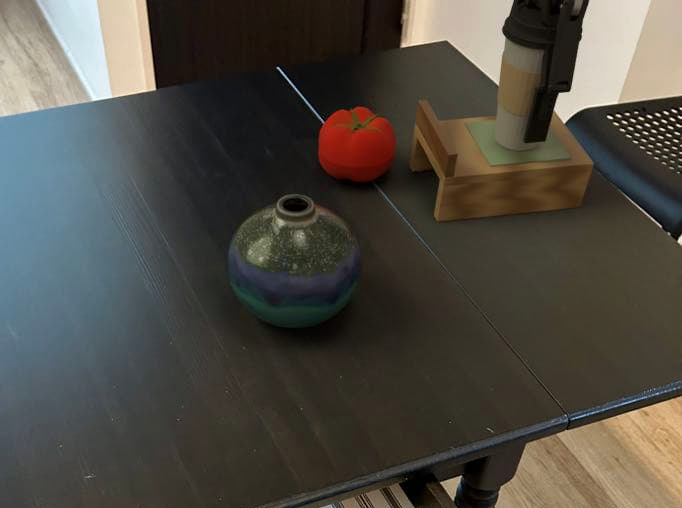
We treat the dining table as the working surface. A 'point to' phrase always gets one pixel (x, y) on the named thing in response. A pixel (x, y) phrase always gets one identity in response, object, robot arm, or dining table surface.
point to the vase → (294, 263)
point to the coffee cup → (520, 74)
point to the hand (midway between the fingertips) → (521, 121)
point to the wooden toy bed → (497, 168)
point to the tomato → (356, 145)
